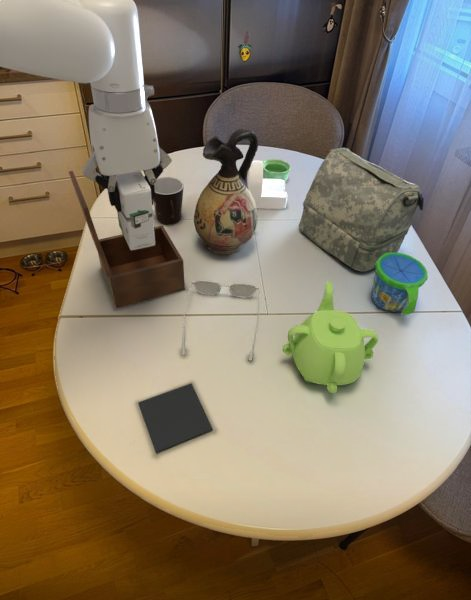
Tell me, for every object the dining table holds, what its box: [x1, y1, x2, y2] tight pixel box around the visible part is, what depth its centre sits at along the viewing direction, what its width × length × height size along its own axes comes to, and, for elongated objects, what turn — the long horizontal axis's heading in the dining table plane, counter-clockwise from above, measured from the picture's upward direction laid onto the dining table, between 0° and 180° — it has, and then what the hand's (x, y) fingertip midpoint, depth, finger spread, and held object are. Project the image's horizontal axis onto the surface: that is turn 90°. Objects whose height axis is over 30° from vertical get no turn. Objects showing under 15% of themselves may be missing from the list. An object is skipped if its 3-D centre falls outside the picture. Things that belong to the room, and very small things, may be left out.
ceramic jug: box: [193, 128, 259, 255], centre depth 97 cm, size 17×15×30 cm
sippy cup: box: [371, 252, 429, 316], centre depth 92 cm, size 16×10×10 cm
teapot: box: [282, 280, 379, 394], centre depth 78 cm, size 16×14×13 cm
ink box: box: [116, 171, 155, 250], centre depth 75 cm, size 9×5×12 cm, turn 26°
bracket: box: [247, 159, 288, 210], centre depth 119 cm, size 19×10×11 cm, turn 91°
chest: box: [97, 224, 186, 310], centre depth 93 cm, size 16×14×9 cm
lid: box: [68, 170, 111, 278], centre depth 81 cm, size 16×14×1 cm
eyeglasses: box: [181, 279, 261, 362], centre depth 87 cm, size 15×18×4 cm
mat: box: [138, 382, 214, 454], centre depth 72 cm, size 10×10×1 cm
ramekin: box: [263, 158, 291, 183], centre depth 131 cm, size 9×9×4 cm
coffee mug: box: [153, 176, 185, 226], centre depth 110 cm, size 12×9×10 cm
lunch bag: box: [298, 147, 425, 272], centre depth 103 cm, size 26×18×22 cm
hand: (133, 203), depth 74 cm, fingers closed on ink box, 5 cm apart
